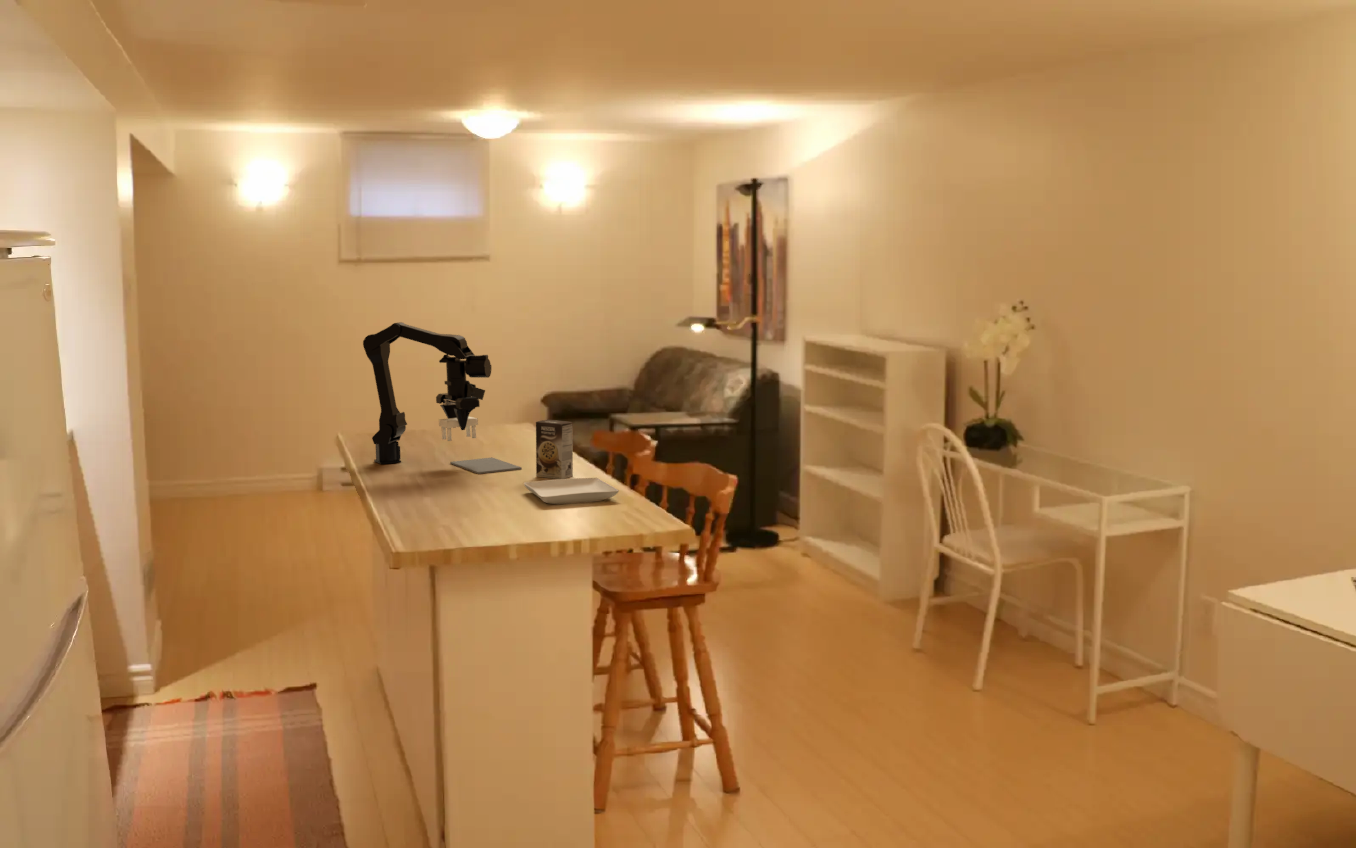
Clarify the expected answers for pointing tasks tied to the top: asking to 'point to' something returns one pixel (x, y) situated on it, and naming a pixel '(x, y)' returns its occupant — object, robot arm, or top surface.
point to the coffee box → (554, 449)
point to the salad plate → (571, 490)
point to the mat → (485, 465)
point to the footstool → (453, 423)
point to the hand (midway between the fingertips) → (458, 428)
